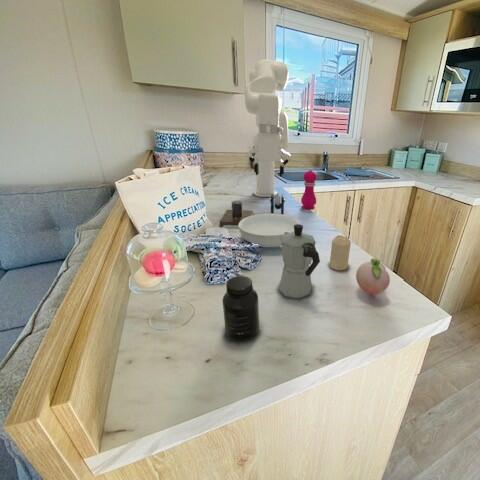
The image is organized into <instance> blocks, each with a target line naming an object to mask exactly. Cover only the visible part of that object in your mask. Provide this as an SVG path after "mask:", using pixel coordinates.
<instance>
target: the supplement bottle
mask: <svg viewBox="0 0 480 480" xmlns="http://www.w3.org/2000/svg"><path fill="white" fill-rule="evenodd" d="M225 286H226V292H225V293H224V294H223V297H222V310H223V311H222V312H223V317H224V318H223V319H224V320H223V321H224V329H225V334H226V335H227V337H228V338H230V339H231V340H233V341H237V342H243V341H247V340H250V339H251V338H253V337H255V336H256V334H257V333H258V332H259V329H260V310H259V309H260V308H259V294H258V292H257V291H256V290H255V289H254V285H253V280H252V279H251V278H250V277H249V276H246V275H237V276H234V277H231V278H229V279H228V280H227V281H226V285H225Z"/></svg>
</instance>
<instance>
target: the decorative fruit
mask: <svg viewBox="0 0 480 480" xmlns="http://www.w3.org/2000/svg"><path fill="white" fill-rule="evenodd" d="M355 280H356V283H357V285H358V287H359V288H360V290H362V291H364V292H365V293H366V294H368V295H379V294H381V293H383V292H384V291H386V290H387V289H388V287H389V286H390V282H391V277H390V274H389V272H388V270H387V269H386V266H385V265H384V264H383V263H381V261H380V259H378V258H375V257H371V259H370V260H368V261H366V262H363V263H361V264H360V265H359V266H358V268H357V270H356V274H355Z"/></svg>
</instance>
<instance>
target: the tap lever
mask: <svg viewBox="0 0 480 480" xmlns="http://www.w3.org/2000/svg"><path fill="white" fill-rule="evenodd" d="M274 209H276V210H281V196H278V195H276V196H274Z"/></svg>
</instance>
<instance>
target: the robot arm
mask: <svg viewBox="0 0 480 480" xmlns="http://www.w3.org/2000/svg"><path fill="white" fill-rule="evenodd" d="M289 74H290V73H289V68H288V65H287V64H286V63H285V62H284V61H281V60H279V61H278V60H273V59H272V60H271V59H260V60H258V61H257V62H256V64H255V68H253V69H251V70H250V71H249V74H248V79H249V82H248V83H247V85H246V87H245V91H244V104H245V109H246V111H247V112H248V113H249V114H252V115H255V125H256V128H257V129H258V132H257V133H256V134H254V135H253V147H254V148H253V149H251V150H249V151H247V152H246V156H247V157H248V159H249V161H250V162H251V163H252V164H253V171H254V173H255V180H256V182H255V183H256V190H254V191H253V195H254V196H255V197H260V198H271V194H274V197H275V196H278V192H277V191H276V190H275V162H278V163H279V177H283V175H284V174H285V166H286V165H287V164H288V163H289V161H290V159H291V158H292V155H291V154H290V153H289V152H288V151H289V119H288V116H287V114H286V113H285V112H283V108H284V107H283V100H282V98H281V97H280V96H279V95H278V94H276V93H275V91H277V92H278V91H279V92H282V91H285V90H286V87H287V85H288V83H289V82H288V81H289V77H290V75H289ZM253 154H255V158H254V156H253ZM283 156H284V157H286V158H285V160H283Z"/></svg>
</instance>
